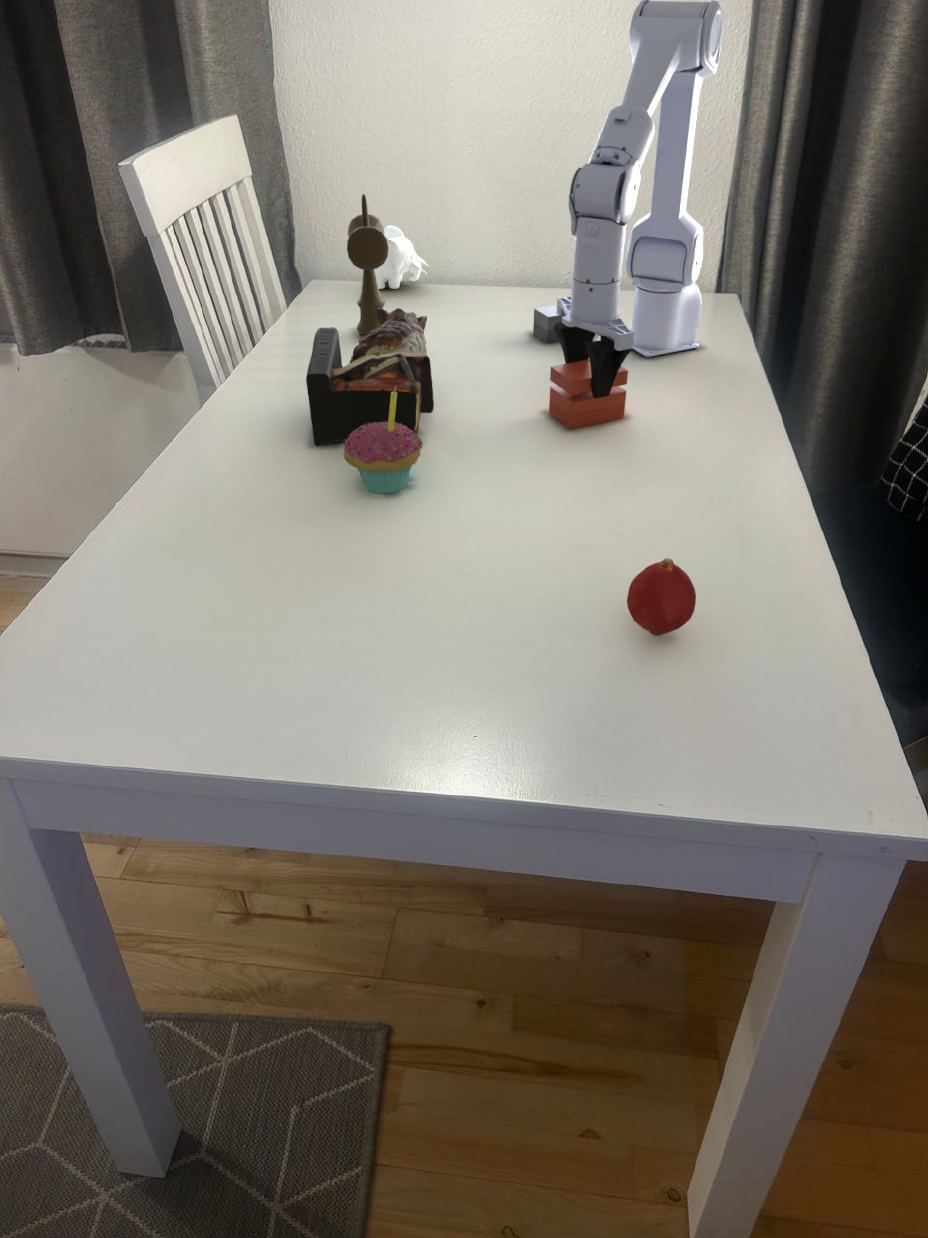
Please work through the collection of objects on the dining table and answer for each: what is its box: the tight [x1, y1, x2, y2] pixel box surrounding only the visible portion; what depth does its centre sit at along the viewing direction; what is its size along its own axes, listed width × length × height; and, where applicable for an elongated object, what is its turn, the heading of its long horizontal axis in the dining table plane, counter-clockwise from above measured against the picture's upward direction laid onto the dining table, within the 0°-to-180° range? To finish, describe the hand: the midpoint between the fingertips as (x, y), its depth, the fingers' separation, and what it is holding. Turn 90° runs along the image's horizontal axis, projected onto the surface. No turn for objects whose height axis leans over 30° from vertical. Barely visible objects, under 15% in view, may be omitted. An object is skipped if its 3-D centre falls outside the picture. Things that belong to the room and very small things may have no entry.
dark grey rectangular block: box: [532, 321, 560, 344], centre depth 140 cm, size 8×4×2 cm, turn 115°
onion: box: [626, 557, 697, 637], centre depth 79 cm, size 6×6×8 cm
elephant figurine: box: [374, 224, 430, 290], centre depth 159 cm, size 10×12×9 cm
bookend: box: [305, 308, 435, 446], centre depth 118 cm, size 15×11×25 cm
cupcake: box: [343, 386, 423, 495], centre depth 100 cm, size 9×8×12 cm
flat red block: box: [549, 359, 629, 396], centre depth 114 cm, size 8×5×2 cm
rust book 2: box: [549, 385, 627, 416], centre depth 116 cm, size 8×5×2 cm
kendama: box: [346, 193, 389, 336], centre depth 137 cm, size 6×10×20 cm, turn 7°
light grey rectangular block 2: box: [533, 304, 565, 330], centre depth 139 cm, size 8×4×2 cm, turn 115°
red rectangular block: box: [548, 400, 626, 430], centre depth 117 cm, size 8×5×2 cm
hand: (588, 387), depth 115 cm, fingers closed on flat red block, 5 cm apart
